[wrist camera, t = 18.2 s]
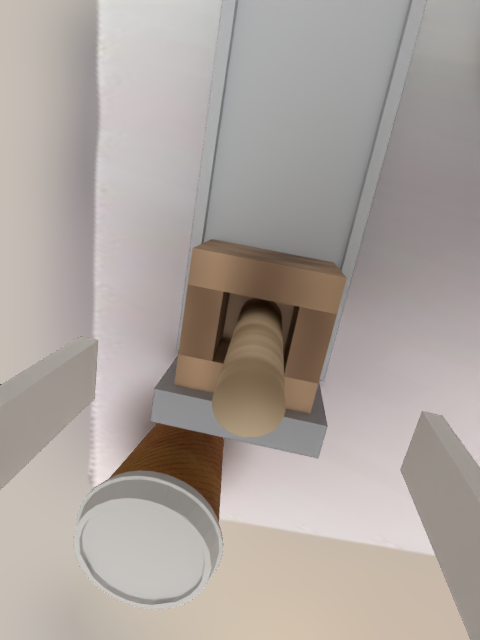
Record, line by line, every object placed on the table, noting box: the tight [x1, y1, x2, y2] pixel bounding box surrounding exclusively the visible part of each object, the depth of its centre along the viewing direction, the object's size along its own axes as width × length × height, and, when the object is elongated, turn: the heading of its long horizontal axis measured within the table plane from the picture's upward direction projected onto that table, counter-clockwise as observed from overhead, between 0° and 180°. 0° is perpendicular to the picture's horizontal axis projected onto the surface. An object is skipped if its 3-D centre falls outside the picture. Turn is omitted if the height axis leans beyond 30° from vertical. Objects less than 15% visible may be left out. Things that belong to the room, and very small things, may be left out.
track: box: [151, 0, 427, 458], centre depth 24 cm, size 12×27×8 cm, turn 170°
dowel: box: [212, 298, 285, 438], centre depth 21 cm, size 3×3×12 cm
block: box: [174, 239, 347, 414], centre depth 26 cm, size 9×9×6 cm
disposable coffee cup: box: [74, 423, 224, 609], centre depth 28 cm, size 10×10×12 cm
